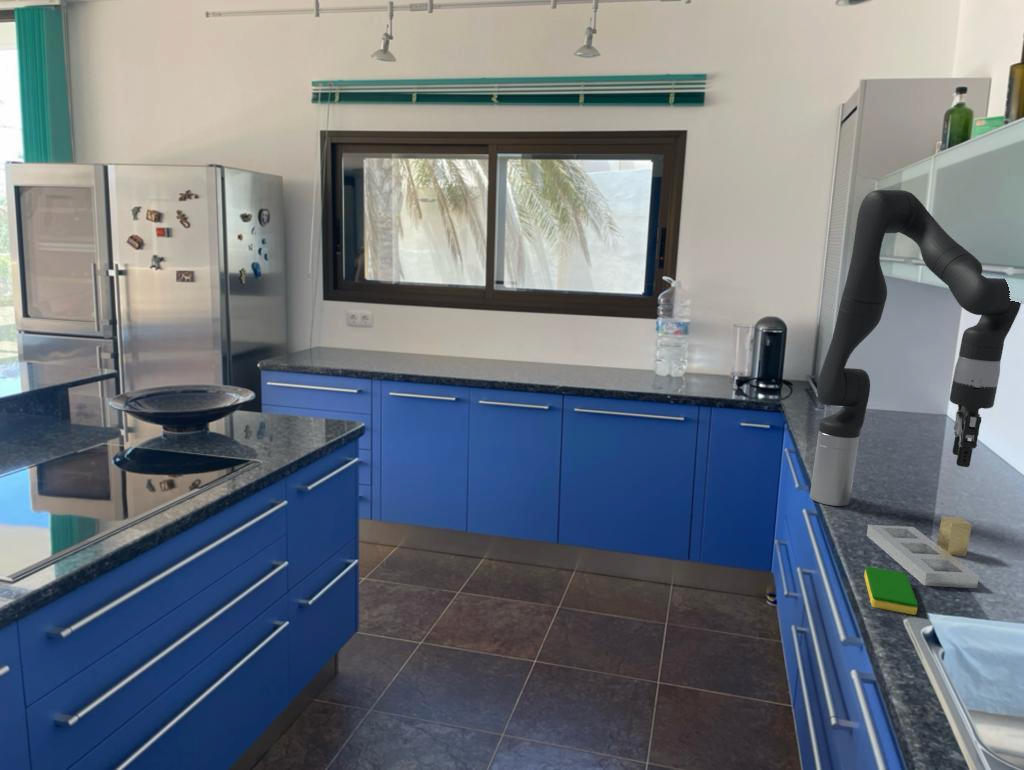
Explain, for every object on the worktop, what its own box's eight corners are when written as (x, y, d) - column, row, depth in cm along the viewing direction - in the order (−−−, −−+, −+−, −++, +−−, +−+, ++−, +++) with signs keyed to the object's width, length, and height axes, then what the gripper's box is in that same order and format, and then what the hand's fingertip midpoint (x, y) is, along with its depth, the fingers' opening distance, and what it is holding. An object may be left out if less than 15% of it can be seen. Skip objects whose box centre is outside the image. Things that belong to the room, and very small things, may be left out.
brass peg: (936, 547, 162) (941, 516, 161) (955, 547, 163) (960, 517, 161) (946, 554, 159) (952, 523, 157) (965, 555, 159) (971, 524, 157)
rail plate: (866, 535, 167) (868, 524, 166) (911, 537, 167) (913, 527, 166) (924, 585, 143) (926, 573, 143) (977, 588, 143) (979, 575, 143)
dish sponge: (871, 609, 134) (873, 596, 133) (863, 577, 147) (865, 565, 146) (916, 617, 132) (918, 604, 131) (904, 584, 144) (906, 572, 144)
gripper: (950, 372, 156) (936, 448, 159) (956, 384, 143) (941, 466, 147) (992, 377, 153) (977, 454, 156) (1003, 390, 140) (986, 473, 144)
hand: (960, 460), depth 151 cm, fingers open, 8 cm apart
